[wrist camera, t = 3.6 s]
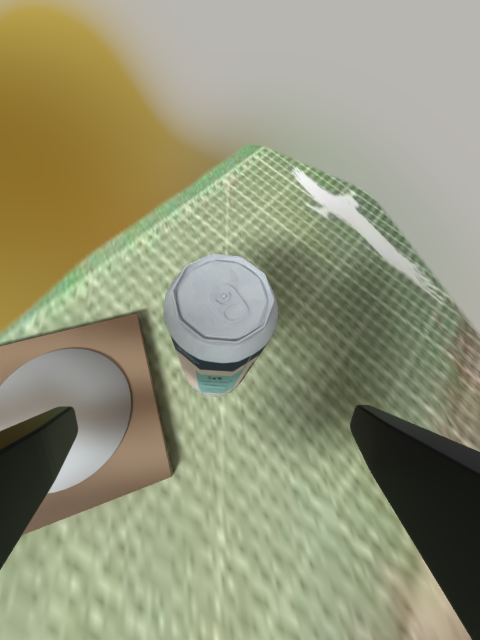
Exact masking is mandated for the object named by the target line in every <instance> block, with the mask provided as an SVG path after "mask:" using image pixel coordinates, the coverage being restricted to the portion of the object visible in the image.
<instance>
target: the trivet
mask: <svg viewBox="0 0 480 640" xmlns="http://www.w3.org/2000/svg"><path fill="white" fill-rule="evenodd" d="M59 406H71V407H73V408H74V410H75V414H76V419H77V424H78V434H77V437H76V439H75V441H74V443H73V445H72V447H71V449H70V451H69V454H68V456H67V458H66V460H65V462H64V464H63V466H62V468H61V470H60V472H59V474H58V476H57V478H56V480H55V482H54V484H53V485H52V487H51V489H50V490H49V492H48V494H47V495H46V497H45V498H44V500H43V502H42V503H41V505H40V506H39V508H38V510H37V511H36V513H35V515H34V516H33V518H32V519H31V521H30V523H29V524H28V526H27V527H26V529H25V531H24V532H23V534H26V533H29V532H31V531H34V530H36V529H39V528H41V527H44V526H46V525H49V524H52V523H54V522H57V521H59V520H62V519H64V518H67V517H70V516H72V515H75V514H77V513H80V512H82V511H85V510H87V509H90V508H93V507H95V506H98V505H100V504H103V503H105V502H108V501H111V500H113V499H116V498H118V497H121V496H123V495H126V494H128V493H131V492H134V491H136V490H139V489H141V488H144V487H146V486H149V485H152V484H154V483H157V482H159V481H162V480H164V479H167V478H169V477H172V475H173V472H172V467H171V462H170V458H169V453H168V449H167V444H166V439H165V435H164V430H163V425H162V421H161V416H160V411H159V407H158V402H157V398H156V393H155V388H154V384H153V379H152V374H151V370H150V365H149V361H148V356H147V351H146V347H145V342H144V337H143V333H142V328H141V323H140V319H139V317H138V315H137V313H136V314H132V315H128V316H124V317H120V318H116V319H111V320H107V321H103V322H99V323H95V324H91V325H86V326H82V327H78V328H74V329H70V330H66V331H61V332H57V333H53V334H49V335H45V336H41V337H36V338H32V339H28V340H24V341H20V342H16V343H11V344H7V345H3V346H0V431H2V430H4V429H6V428H9V427H11V426H13V425H16V424H18V423H20V422H23V421H25V420H27V419H30V418H32V417H34V416H37V415H39V414H42V413H44V412H46V411H49V410H51V409H53V408H56V407H59ZM23 534H22V535H23Z"/></svg>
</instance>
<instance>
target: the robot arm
mask: <svg viewBox="0 0 480 640" xmlns="http://www.w3.org/2000/svg"><path fill="white" fill-rule="evenodd" d="M350 429H351V432H352V435H353V437H354V439H355V441H356V443H357V445H358V447H359V449H360V451H361V453H362V455H363V457H364V460H365V462H366V464H367V466H368V468H369V470H370V471H371V473H372V475H373V477H374V478H375V480H376V482H377V483H378V485H379V487H380V488H381V490H382V492H383V493H384V495H385V497H386V498H387V500H388V502H389V503H390V505H391V506H392V508H393V510H394V511H395V513H396V515H397V516H398V518H399V520H400V521H401V523H402V525H403V526H404V528H405V530H406V531H407V533H408V535H409V536H410V538H411V539H412V541H413V543H414V544H415V546H416V548H417V549H418V551H419V553H420V554H421V556H422V558H423V559H424V561H425V563H426V564H427V566H428V568H429V569H430V571H431V573H432V574H433V576H434V577H435V579H436V581H437V582H438V584H439V586H440V587H441V589H442V591H443V592H444V594H445V596H446V597H447V599H448V601H449V602H450V604H451V606H452V607H453V609H454V611H455V612H456V614H457V615H458V617H459V619H460V620H461V622H462V624H463V625H464V627H465V629H466V630H467V632H468V634H469V635H470V637H471V639H472V640H480V452H478V451H476V450H474V449H471V448H469V447H466V446H464V445H462V444H459V443H457V442H455V441H452V440H450V439H448V438H445V437H443V436H440V435H438V434H436V433H433V432H431V431H429V430H426V429H424V428H422V427H419V426H417V425H415V424H412V423H410V422H407V421H405V420H403V419H400V418H398V417H396V416H393V415H391V414H389V413H386V412H384V411H381V410H379V409H377V408H374V407H372V406H370V405H357V406H356V407H355V410H354V413H353V416H352V420H351V423H350ZM77 434H78V424H77V419H76V414H75V410H74V408H73V407H71V406H59V407H56V408H53V409H51V410H49V411H46V412H44V413H42V414H39V415H37V416H34V417H32V418H30V419H27V420H25V421H23V422H20V423H18V424H16V425H13V426H11V427H9V428H6V429H4V430H2V431H0V570H1V568H2V566H3V565H4V563H5V561H6V560H7V558H8V557H9V555H10V553H11V552H12V550H13V548H14V547H15V545H16V544H17V542H18V540H19V539H20V537H21V536H22V534H23V532H24V531H25V529H26V527H27V526H28V524H29V523H30V521H31V519H32V518H33V516H34V515H35V513H36V511H37V510H38V508H39V506H40V505H41V503H42V502H43V500H44V498H45V497H46V495H47V494H48V492H49V490H50V489H51V487H52V485H53V484H54V482H55V480H56V478H57V476H58V474H59V472H60V470H61V468H62V466H63V464H64V462H65V460H66V458H67V456H68V454H69V451H70V449H71V447H72V445H73V443H74V441H75V439H76V437H77Z"/></svg>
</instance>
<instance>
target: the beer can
mask: <svg viewBox="0 0 480 640" xmlns="http://www.w3.org/2000/svg"><path fill="white" fill-rule="evenodd" d="M164 318H165V323H166V326H167V328H168V331H169V333H170V335H171V338H172V341H173V343H174V346H175V349H176V351H177V354H178V357H179V359H180V362H181V365H182V368H183V370H184V373H185V376H186V379H187V381H188V383H189V384H190V385H191V387H192V388H194V389H195V390H196V391H197V392H199V393H201V394H203V395H206V396H213V397H217V396H223V395H226V394H227V393H229V392H231V391H232V390H234V389H235V388H236V387H237V386H238V385H239V384H240V383H241V381H242V380H243V378H244V377H245V375H246V374H247V372H248V371H249V369H250V368H251V366H252V365H253V364H254V362H255V361H256V359H257V358H258V356H259V355H260V353H261V352H262V350H263V349H264V347H265V346H266V345H267V343H268V341H269V340H270V338H271V336H272V335H273V333H274V331H275V328H276V324H277V321H278V304H277V300H276V296H275V293H274V291H273V289H272V288H271V286H270V284H269V282H268V281H267V278H266V275H265V273H263V272H262V271H260V270H259V269H258V268H256V267H255V266H254V265H252V264H251V263H249V262H248V261H247V260H245V259H244V258H243V257H240V256H230V255H221V254H210V255H208V256H206V257H203V258H201V259H199V260H197V261H195V262H192V263H190V264H188V265H186V266H185V267H184V269H183V270H182V271H181V272H180V273H179V275H178V276H177V277H176V278H175V279H174V281H173V282H172V284H171V285H170V287H169V289H168V291H167V293H166V297H165V301H164Z"/></svg>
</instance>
